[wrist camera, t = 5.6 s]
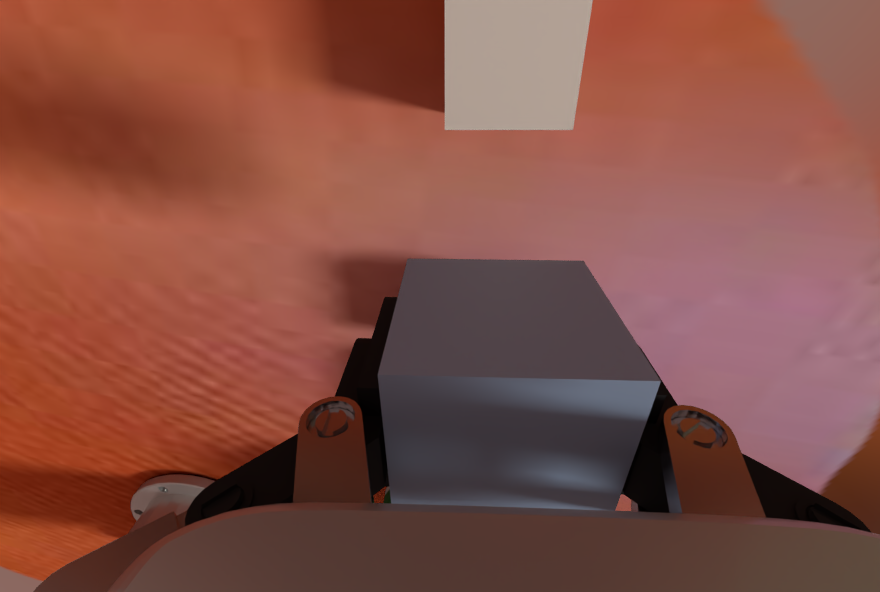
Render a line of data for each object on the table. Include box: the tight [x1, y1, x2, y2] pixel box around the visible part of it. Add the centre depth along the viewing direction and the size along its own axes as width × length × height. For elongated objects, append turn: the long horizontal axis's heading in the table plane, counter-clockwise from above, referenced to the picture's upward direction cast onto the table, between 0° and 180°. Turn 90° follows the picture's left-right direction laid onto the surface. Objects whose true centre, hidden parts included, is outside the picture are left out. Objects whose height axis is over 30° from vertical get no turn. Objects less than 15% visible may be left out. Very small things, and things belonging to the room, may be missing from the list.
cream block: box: [445, 0, 593, 130], centre depth 17 cm, size 5×5×5 cm
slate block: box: [378, 259, 661, 511], centre depth 11 cm, size 5×5×5 cm
